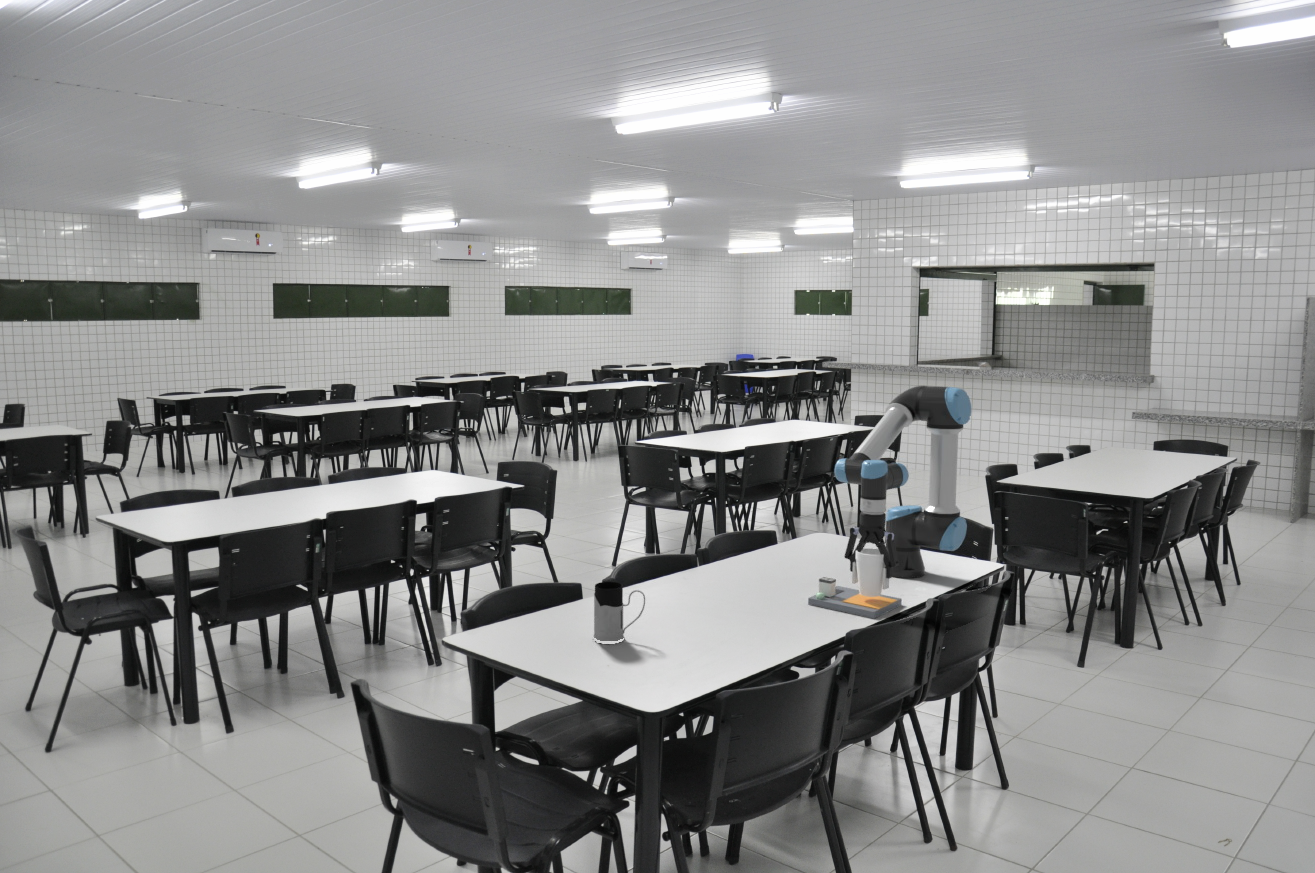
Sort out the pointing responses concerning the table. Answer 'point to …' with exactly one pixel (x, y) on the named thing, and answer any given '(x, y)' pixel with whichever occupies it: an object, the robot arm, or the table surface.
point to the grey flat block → (855, 602)
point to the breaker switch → (827, 586)
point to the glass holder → (610, 611)
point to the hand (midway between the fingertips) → (870, 585)
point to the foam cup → (870, 571)
